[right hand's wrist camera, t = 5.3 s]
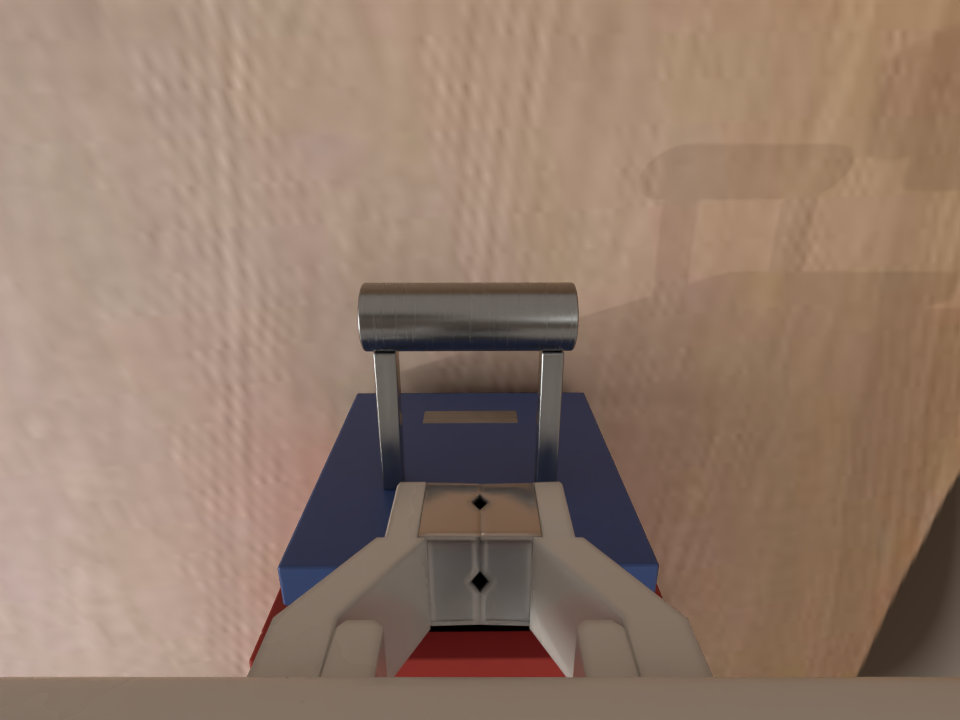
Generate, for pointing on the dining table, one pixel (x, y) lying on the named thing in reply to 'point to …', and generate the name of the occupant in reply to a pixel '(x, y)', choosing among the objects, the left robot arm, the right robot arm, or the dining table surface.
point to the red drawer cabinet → (466, 653)
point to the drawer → (463, 429)
